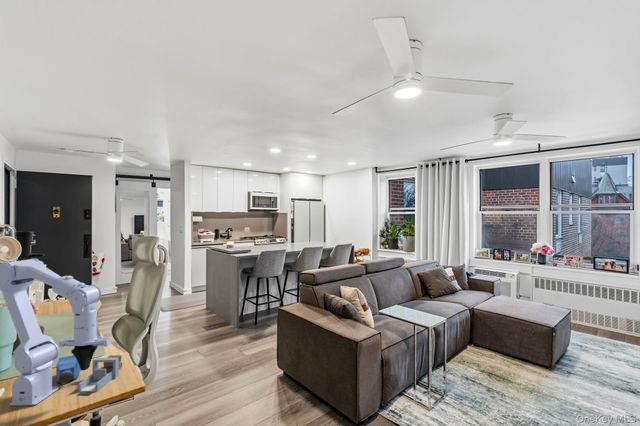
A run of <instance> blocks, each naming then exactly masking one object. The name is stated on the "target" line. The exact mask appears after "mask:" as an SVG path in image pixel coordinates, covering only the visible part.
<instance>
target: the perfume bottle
mask: <svg viewBox="0 0 640 426" xmlns="http://www.w3.org/2000/svg"><path fill="white" fill-rule="evenodd" d="M55 367H56V368H55V369H56V370H55V371H56V373H55V374H56V376H55V377H56V380H55V382H56V384H57V383H60V384H68V382H70V381H71V380H74V379H75V380H76V379H79V378H80V374H81V371H82V370H81V369H80V366H79V363H78V361H77V359H76V357H75V356H74V355H73V354H72V355H67V356H62V357H59V358H58V361H57V363H56V366H55Z"/></svg>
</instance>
